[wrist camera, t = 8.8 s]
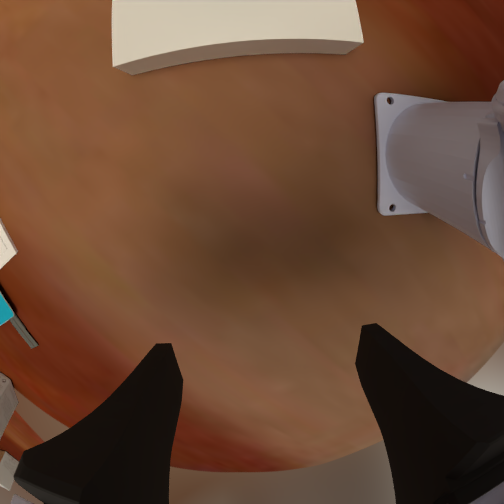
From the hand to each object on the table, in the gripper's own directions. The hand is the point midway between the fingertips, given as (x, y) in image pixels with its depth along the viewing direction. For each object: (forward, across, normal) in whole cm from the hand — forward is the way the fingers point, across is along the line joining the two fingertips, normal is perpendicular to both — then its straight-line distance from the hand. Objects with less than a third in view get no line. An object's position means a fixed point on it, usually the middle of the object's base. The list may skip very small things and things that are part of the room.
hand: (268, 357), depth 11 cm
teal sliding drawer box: (+10, +26, -2) cm, 28 cm away
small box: (+10, +69, +52) cm, 87 cm away
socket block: (+9, 0, -19) cm, 21 cm away
